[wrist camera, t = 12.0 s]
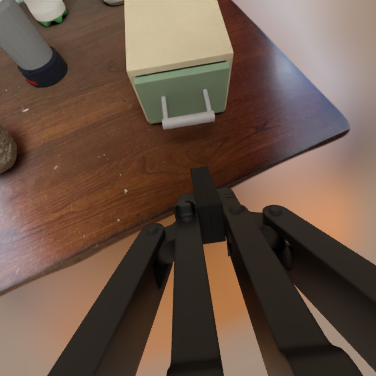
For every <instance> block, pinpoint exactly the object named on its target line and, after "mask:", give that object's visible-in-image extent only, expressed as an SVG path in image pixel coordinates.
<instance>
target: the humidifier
mask: <svg viewBox="0 0 376 376" xmlns="http://www.w3.org/2000/svg"><path fill="white" fill-rule="evenodd" d="M0 47H1V48H2V49H3V50H4V51H5V52H6V53H7V54H8V55H9V56H10V57H11V58H12V59H13V60H14V61H15V62H16V63H17V64H18V69H19V70H20V72H21V73H22V74H23V76H24V77H25V78H26V79H27V80H26V81H27V82H28V83H30V84H31V85H34V86H36V87H48V86H51V85H54V84H55V83H57V82H59V81H60V80H61V79H62V78H63V77H64V76H65V74H66V72H67V64H66V63H65V62H64V60H63V59H62V57H61V56H60V55H59V53H58V52H57V51H56V50H55V49H54V48H53V47H51V46H48V44H47V43H46V41H45V40H44V39H43V37H42V36H41V35H40V33H39V32H38V31H37V29H36V28H35V27H34V25H33V24H32V22H31V21H30V20H29V18H28V17H27V16H26V14H25V13H24V12H23V10H22V9H21V7H20V6H19V5H18V3H17V2H16V1H15V0H0Z"/></svg>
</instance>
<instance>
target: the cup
mask: <svg viewBox="0 0 376 376" xmlns="http://www.w3.org/2000/svg"><path fill="white" fill-rule="evenodd" d="M24 2H25V3H26V4H27V6H28V8H29V10H30V12H31V13H32V15H33V16H34V18H35V19H36V20H38V21H39V22H40V23H42V24H43V25H45V26H47V27H48V26H50V24H51V21H55V22H57V23H61V22H62V20H63V18H62V16H63V15H67V13H68V12H67V9H66V7H65V5H64V3H63V1H62V0H24Z"/></svg>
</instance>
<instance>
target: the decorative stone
mask: <svg viewBox="0 0 376 376" xmlns="http://www.w3.org/2000/svg"><path fill="white" fill-rule="evenodd" d="M16 155H17V145H16V143H15V142H14V139H13V138H12V137H11V135H10V134H9V132H8V131H7V130H6V129H5V128H3V127H2V126H1V125H0V173H3V172H4V171H6V170H8V169H9V168H11V167H12V166H13V164H14V163H15V159H16V157H17V156H16Z"/></svg>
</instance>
